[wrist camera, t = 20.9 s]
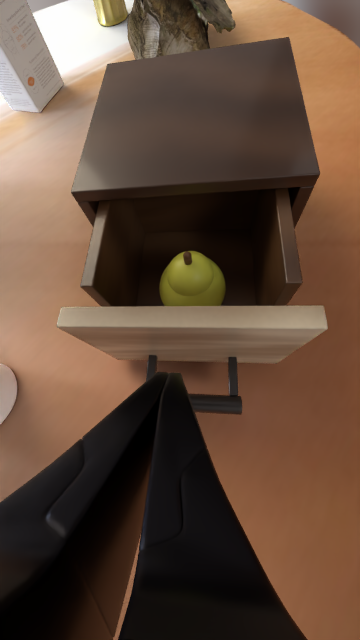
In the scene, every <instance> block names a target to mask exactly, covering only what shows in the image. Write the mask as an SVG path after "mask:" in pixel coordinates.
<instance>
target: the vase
mask: <svg viewBox="0 0 360 640" xmlns="http://www.w3.org/2000/svg"><path fill="white" fill-rule="evenodd" d="M93 1H94V5H95V9H96V13H97V17H98V22H99V23H100V24H101V25H103V26H112V25H116V24H118V23H121V22H122V21H124V20H125V19H126V18H127V15H128V12H127V10H126V6H125V2H124V0H93Z"/></svg>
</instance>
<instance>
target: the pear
mask: <svg viewBox="0 0 360 640" xmlns="http://www.w3.org/2000/svg"><path fill="white" fill-rule="evenodd" d="M159 291H160V296H161V300H162V302H163V304H164V306H221V304H222V302H223V299H224V296H225V291H226V285H225V279H224V276H223V273H222V272H221V270H220V268H219V267H218V266H217V265H216V264H215V263H214V262H213V261H212V260H210V259H209V258H207V257H206V256H204V255H203V254H201V253H199V252H195V251H186V252H182V253H180V254H178V255H177V256H175V257H174V258H173V260H172V261H171V262H170V264H169V265H168V266H167V267H166V269H165V270H164V272H163V274H162V276H161V280H160V286H159Z"/></svg>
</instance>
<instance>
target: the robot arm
mask: <svg viewBox="0 0 360 640" xmlns="http://www.w3.org/2000/svg"><path fill="white" fill-rule="evenodd" d="M140 535H141V539H140V546H139V554H138V560H137V567H136V573H135V578H134V583H133V588H132V593H131V597H130V600H129V604H128V608H127V611H126V614H125V618H124V621H123V625H122V628H121V631H120V635H119V638H118V640H307V638H306V637H305V636H304V634H303V633H302V632H301V630H300V629H299V627H298V626H297V625H296V623H295V622H294V621H293V619H292V618H291V616H290V615H289V613H288V611H287V610H286V608H285V607H284V605H283V603H282V602H281V600H280V598H279V597H278V595H277V593H276V592H275V590H274V588H273V586H272V584H271V583H270V581H269V579H268V577H267V575H266V573H265V571H264V569H263V568H262V566H261V564H260V562H259V560H258V558H257V556H256V554H255V552H254V550H253V548H252V546H251V544H250V542H249V540H248V538H247V536H246V534H245V532H244V530H243V528H242V526H241V524H240V522H239V520H238V518H237V516H236V514H235V512H234V510H233V508H232V506H231V504H230V502H229V500H228V498H227V496H226V493H225V491H224V489H223V487H222V485H221V483H220V481H219V478H218V475H217V473H216V470H215V468H214V465H213V463H212V460H211V457H210V454H209V452H208V449H207V446H206V443H205V441H204V438H203V435H202V432H201V429H200V426H199V424H198V421H197V418H196V415H195V412H194V409H193V406H192V404H191V401H190V398H189V395H188V392H187V389H186V387H185V384H184V381H183V378H182V375H181V373H174V372H171V373H168V372H157V373H155V374H154V375H153V376H152V377H151V378H150V379H148V380H147V381H146V382H145V383H144V384H143V385H142V386H140V387H139V388H138V389H137V390H136V391H135V392H134V393H132V394H131V395H130V396H129V397H128V398H127V399H126V400H124V401H123V402H122V403H121V404H120V405H119V406H118V407H116V408H115V409H114V410H113V411H112V412H111V413H110V414H108V415H107V416H106V417H105V418H104V419H103V420H102V421H100V422H99V423H98V424H97V425H96V426H95V427H94V428H92V429H91V430H90V431H89V432H88V433H87V434H85V435H84V436H83V437H82V439H80V440H78V441H77V442H76V443H75V444H74V445H73V446H72V447H70V448H69V449H68V450H67V451H66V452H65V453H63V454H62V455H61V456H60V457H59V458H57V459H56V460H55V461H54V462H53V463H51V464H50V465H49V466H48V467H46V468H45V469H44V470H42V471H41V472H40V473H39V474H37V475H36V476H35V477H33V478H32V479H31V480H30V481H28V482H27V483H26V484H24V485H23V486H22V487H20V488H19V489H18V490H16V491H15V492H14V493H12V494H11V495H10V496H8V497H7V498H6V499H4V500H3V501H2V502H0V640H113V637H114V636H115V632H116V628H117V624H118V621H119V617H120V613H121V609H122V605H123V601H124V597H125V593H126V589H127V585H128V581H129V578H130V574H131V570H132V566H133V562H134V558H135V554H136V550H137V546H138V542H139V538H140Z"/></svg>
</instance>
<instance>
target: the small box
mask: <svg viewBox="0 0 360 640" xmlns="http://www.w3.org/2000/svg"><path fill="white" fill-rule="evenodd" d="M63 85H64V82H63V80H62V78H61V76H60V74H59V71H58V69H57V67H56V65H55V63H54V60H53V58H52V56H51V54H50V52H49V50H48V47H47V45H46V43H45V41H44V39H43V36H42V34H41V32H40V30H39V28H38V25H37V23H36V21H35V19H34V17H33V14H32V12H31V10H30V8H29V6H28V3H27V1H26V0H0V92H1V94H2V95H3V97H4V98H5V100H6V101H7V103H8V104H9V106H10V107H11V109H13V110H19V111H28V112H37V113H40V112H41V111H42V109H43V108H44V107H45V106H46V105H47V103H48V102H49V101H50V100H51V99H52V97H53V96H54V95H55V94H56V93H57V92H58V90H59V89H60V88H61V87H62V86H63Z"/></svg>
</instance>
